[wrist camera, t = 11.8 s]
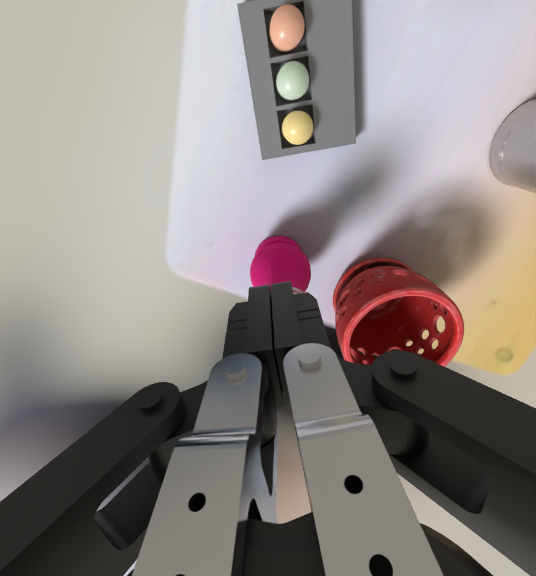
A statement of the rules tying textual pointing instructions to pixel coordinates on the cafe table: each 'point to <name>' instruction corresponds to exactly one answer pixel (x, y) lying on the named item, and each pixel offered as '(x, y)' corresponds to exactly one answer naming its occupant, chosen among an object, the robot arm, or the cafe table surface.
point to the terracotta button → (286, 28)
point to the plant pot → (393, 313)
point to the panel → (321, 68)
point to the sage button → (292, 80)
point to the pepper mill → (280, 264)
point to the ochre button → (297, 127)
